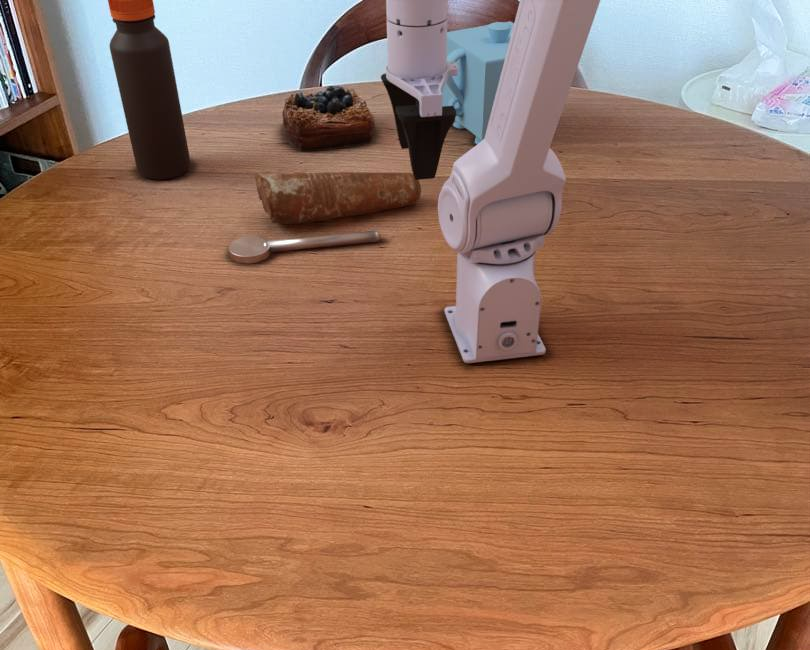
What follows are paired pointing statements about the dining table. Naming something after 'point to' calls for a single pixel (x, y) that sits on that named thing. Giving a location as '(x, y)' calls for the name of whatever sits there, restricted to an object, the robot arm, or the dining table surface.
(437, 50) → the robot arm
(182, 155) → the bottle
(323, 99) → the pastry
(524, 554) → the dining table surface
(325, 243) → the spoon
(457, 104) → the teapot
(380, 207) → the brown wooden log
